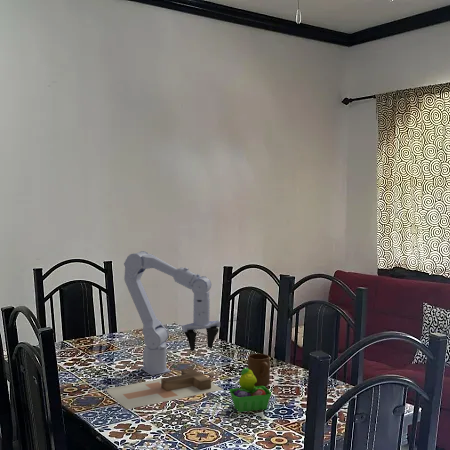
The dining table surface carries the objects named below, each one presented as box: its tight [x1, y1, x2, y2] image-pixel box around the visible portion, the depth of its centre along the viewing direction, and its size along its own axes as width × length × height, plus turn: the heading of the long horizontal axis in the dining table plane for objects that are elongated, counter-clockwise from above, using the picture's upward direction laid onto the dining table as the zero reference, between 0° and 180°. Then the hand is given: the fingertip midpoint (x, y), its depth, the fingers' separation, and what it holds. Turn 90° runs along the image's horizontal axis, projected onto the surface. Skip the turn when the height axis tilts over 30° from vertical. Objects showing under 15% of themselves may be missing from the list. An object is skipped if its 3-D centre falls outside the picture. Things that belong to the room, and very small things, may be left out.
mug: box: [247, 353, 271, 387], centre depth 192 cm, size 12×8×9 cm, turn 16°
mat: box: [103, 378, 224, 410], centre depth 188 cm, size 20×34×1 cm, turn 121°
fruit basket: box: [229, 367, 272, 413], centre depth 173 cm, size 11×9×11 cm
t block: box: [160, 367, 212, 391], centre depth 191 cm, size 14×14×3 cm
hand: (201, 348), depth 203 cm, fingers open, 6 cm apart
